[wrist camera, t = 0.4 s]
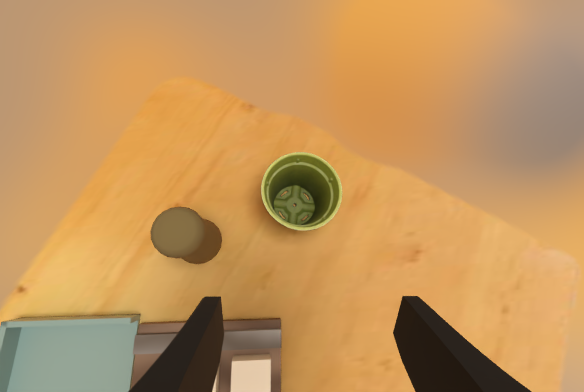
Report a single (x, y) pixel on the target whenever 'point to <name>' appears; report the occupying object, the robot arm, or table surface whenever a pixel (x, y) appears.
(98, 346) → the tray
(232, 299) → the table surface
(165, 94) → the table surface
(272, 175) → the plant pot
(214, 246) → the cork
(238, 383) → the chip
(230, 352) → the slot board
